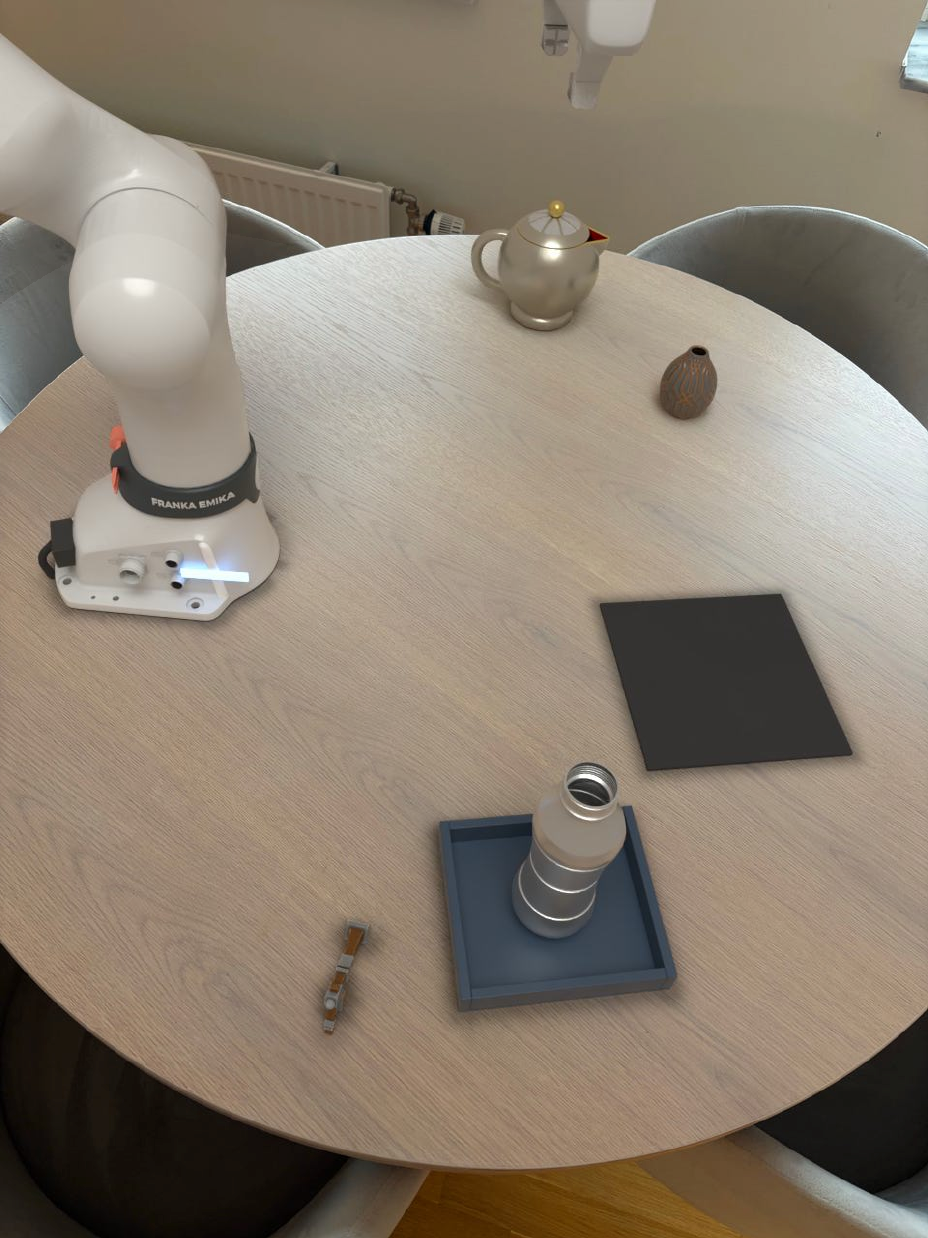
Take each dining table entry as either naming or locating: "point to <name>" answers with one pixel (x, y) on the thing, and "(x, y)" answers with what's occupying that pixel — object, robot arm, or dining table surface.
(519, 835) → the tray
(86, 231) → the robot arm
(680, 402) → the vase
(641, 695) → the mat
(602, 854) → the silver metal bottle
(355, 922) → the wooden post with brackets
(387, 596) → the dining table surface
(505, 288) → the teapot
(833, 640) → the dining table surface
